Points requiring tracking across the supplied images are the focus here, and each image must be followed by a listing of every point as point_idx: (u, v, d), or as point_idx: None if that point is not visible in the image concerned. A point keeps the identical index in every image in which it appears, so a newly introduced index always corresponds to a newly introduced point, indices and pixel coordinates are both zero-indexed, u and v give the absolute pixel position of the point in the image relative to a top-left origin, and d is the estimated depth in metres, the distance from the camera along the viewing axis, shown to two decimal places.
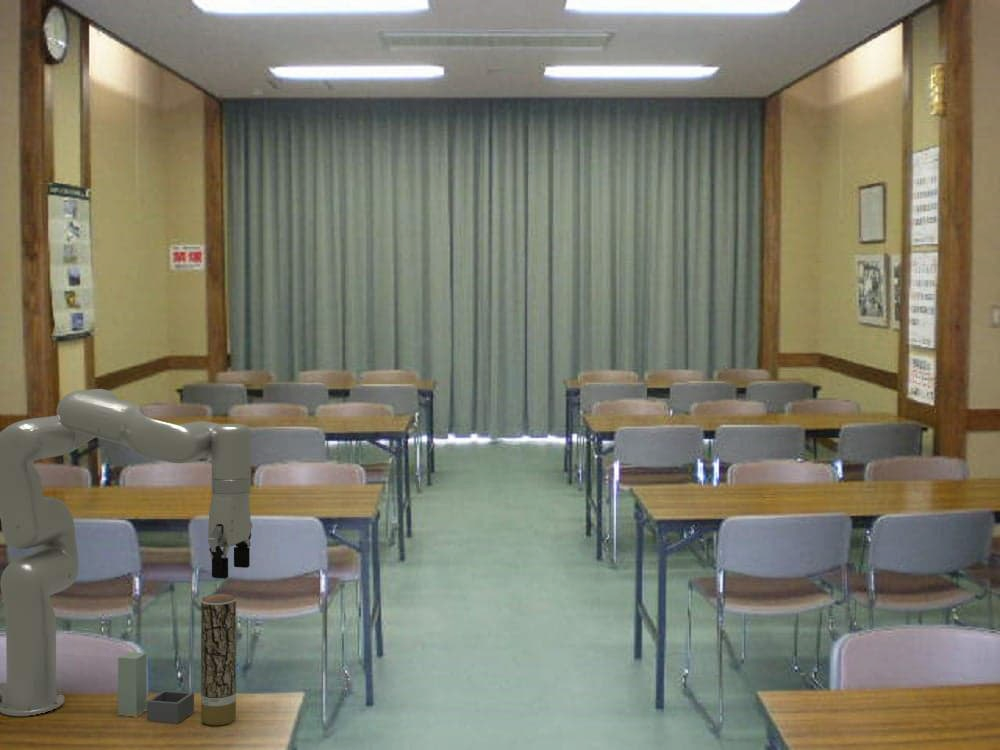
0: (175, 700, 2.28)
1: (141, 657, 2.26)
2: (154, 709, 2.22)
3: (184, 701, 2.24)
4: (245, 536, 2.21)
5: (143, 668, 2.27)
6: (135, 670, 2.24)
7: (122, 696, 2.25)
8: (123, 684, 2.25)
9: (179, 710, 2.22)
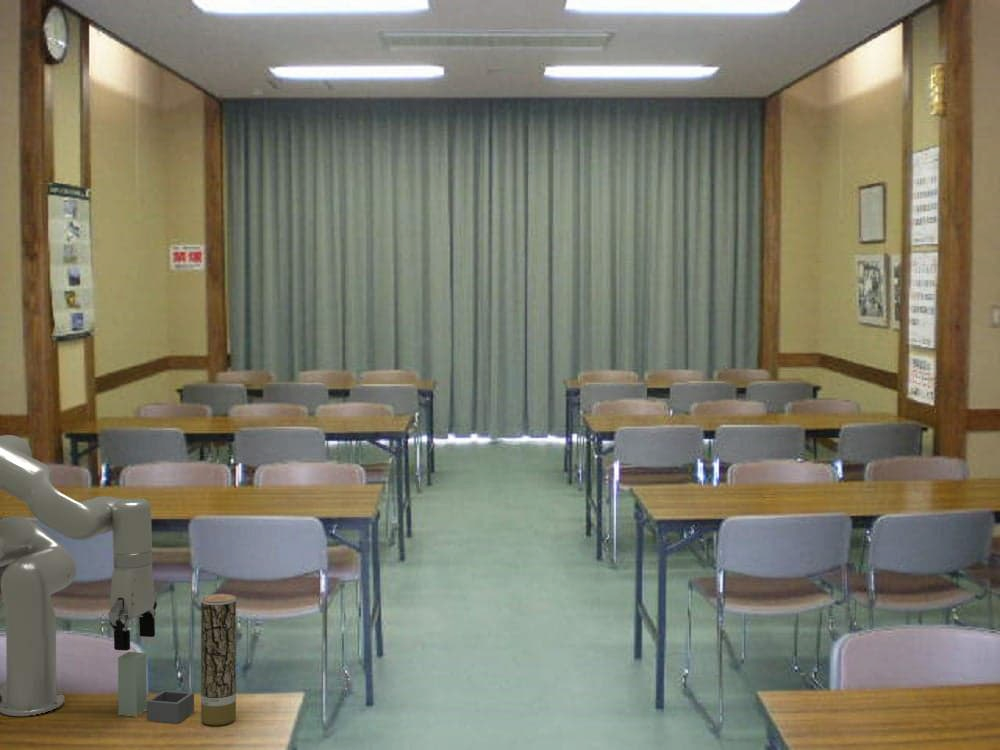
0: (175, 700, 2.28)
1: (141, 657, 2.26)
2: (154, 709, 2.22)
3: (184, 701, 2.24)
4: (148, 607, 2.27)
5: (143, 668, 2.27)
6: (135, 670, 2.24)
7: (122, 696, 2.25)
8: (123, 684, 2.25)
9: (179, 710, 2.22)
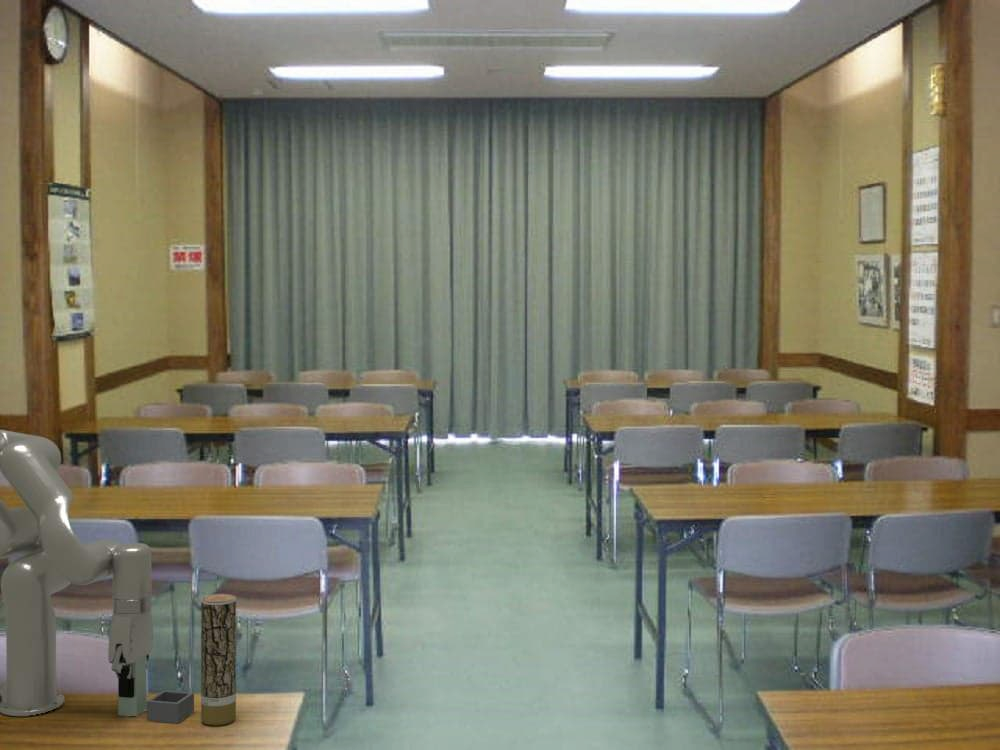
0: (175, 700, 2.28)
1: None
2: (154, 709, 2.22)
3: (184, 701, 2.24)
4: (147, 652, 2.28)
5: (143, 668, 2.27)
6: (135, 670, 2.24)
7: None
8: None
9: (179, 710, 2.22)
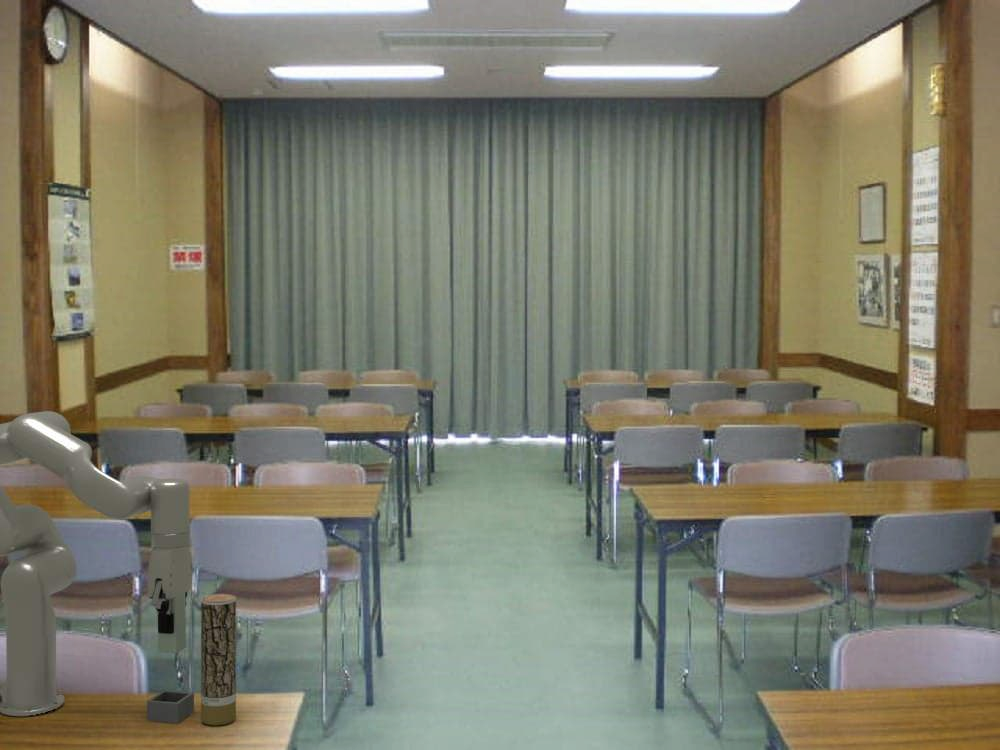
0: (175, 700, 2.28)
1: None
2: (154, 709, 2.22)
3: (184, 701, 2.24)
4: (185, 588, 2.25)
5: (182, 604, 2.24)
6: (175, 605, 2.22)
7: None
8: None
9: (179, 710, 2.22)
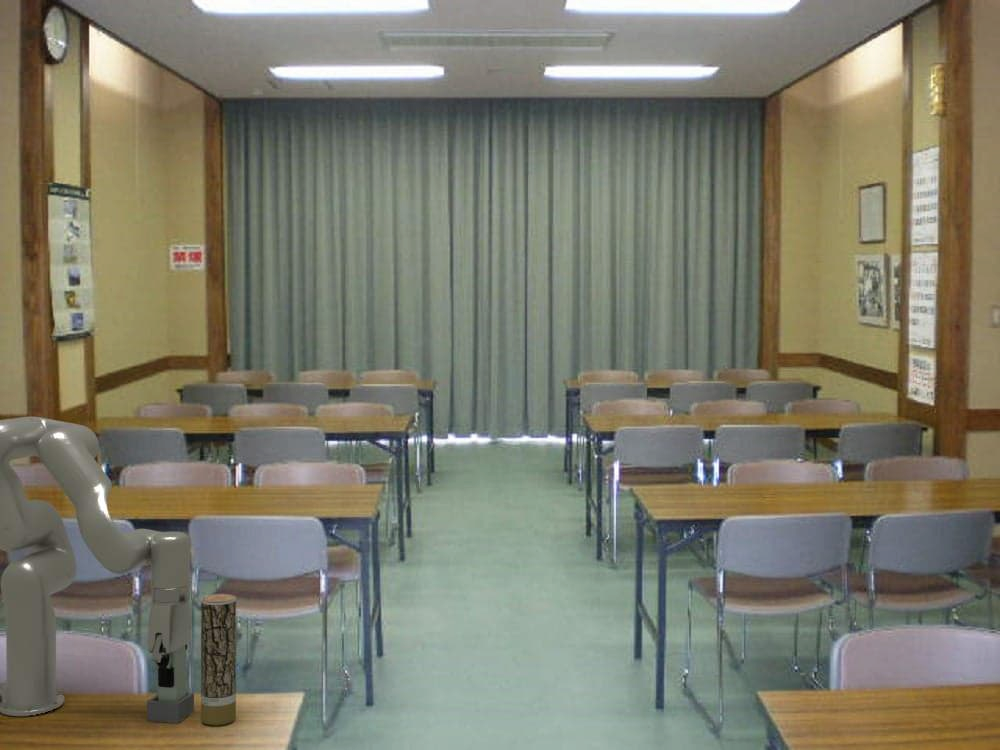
0: None
1: None
2: (154, 709, 2.22)
3: (184, 701, 2.24)
4: (185, 641, 2.26)
5: (182, 657, 2.25)
6: (175, 659, 2.22)
7: None
8: None
9: (179, 710, 2.22)
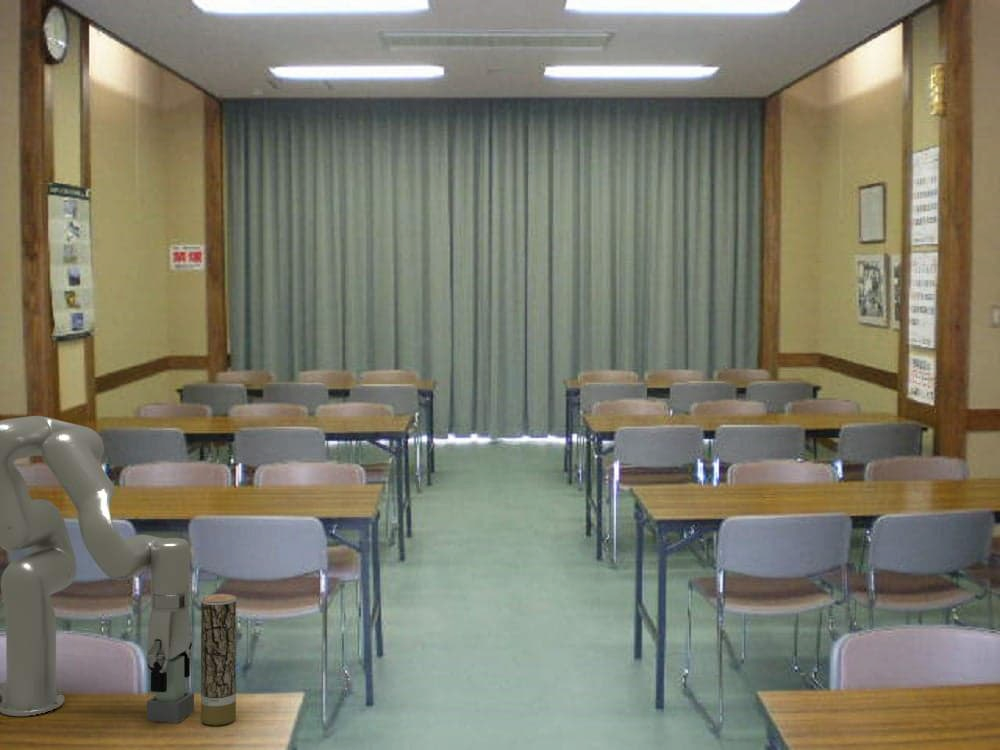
0: None
1: (179, 660, 2.24)
2: (154, 709, 2.22)
3: (184, 701, 2.24)
4: (185, 647, 2.26)
5: (181, 671, 2.25)
6: (173, 673, 2.22)
7: (160, 699, 2.23)
8: None
9: (179, 710, 2.22)
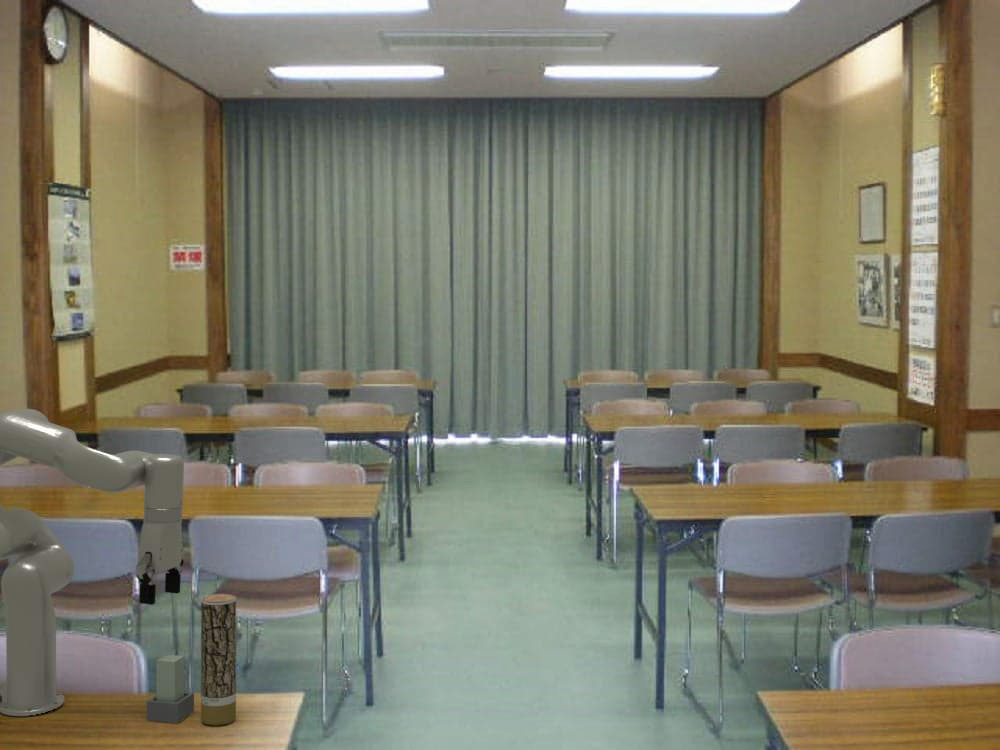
0: None
1: (179, 660, 2.24)
2: (154, 709, 2.22)
3: (184, 701, 2.24)
4: (175, 563, 2.28)
5: (181, 671, 2.25)
6: (173, 673, 2.22)
7: (160, 699, 2.23)
8: (161, 687, 2.23)
9: (179, 710, 2.22)
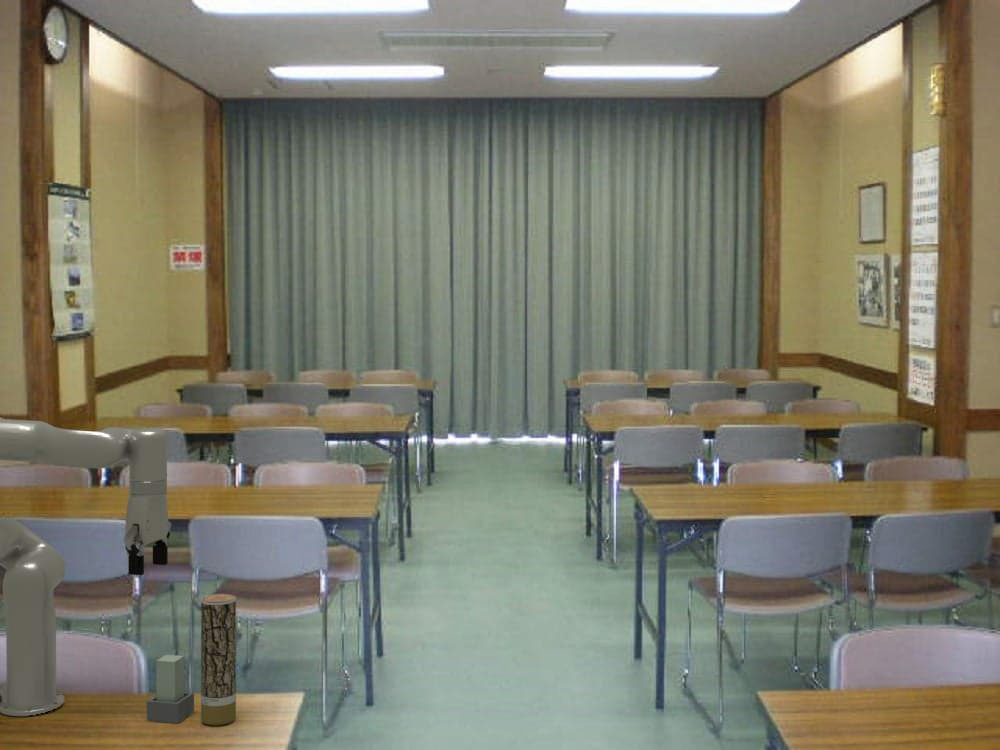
0: None
1: (179, 660, 2.24)
2: (154, 709, 2.22)
3: (184, 701, 2.24)
4: (162, 535, 2.33)
5: (181, 671, 2.25)
6: (173, 673, 2.22)
7: (160, 699, 2.23)
8: (161, 687, 2.23)
9: (179, 710, 2.22)
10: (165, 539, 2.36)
